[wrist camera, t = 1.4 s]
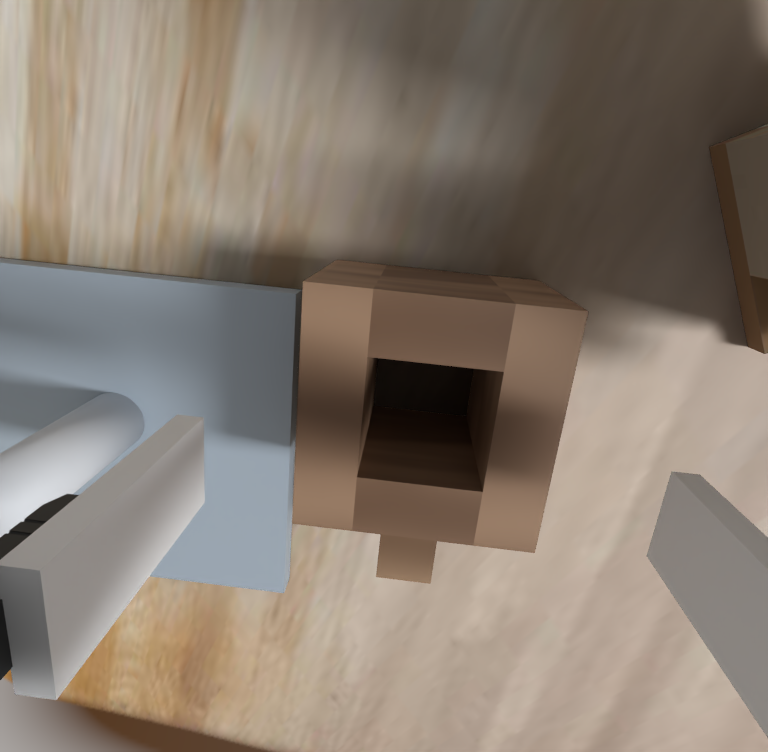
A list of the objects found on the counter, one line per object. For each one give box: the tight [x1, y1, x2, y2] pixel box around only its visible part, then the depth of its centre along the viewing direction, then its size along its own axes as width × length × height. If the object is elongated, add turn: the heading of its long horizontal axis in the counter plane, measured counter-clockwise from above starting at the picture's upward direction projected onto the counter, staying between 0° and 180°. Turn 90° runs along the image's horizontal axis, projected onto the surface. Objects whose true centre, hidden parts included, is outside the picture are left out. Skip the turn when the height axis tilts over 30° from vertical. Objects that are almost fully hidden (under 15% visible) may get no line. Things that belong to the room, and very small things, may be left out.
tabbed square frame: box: [292, 260, 588, 584], centre depth 22 cm, size 13×9×7 cm
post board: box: [0, 258, 302, 593], centre depth 22 cm, size 16×19×9 cm
